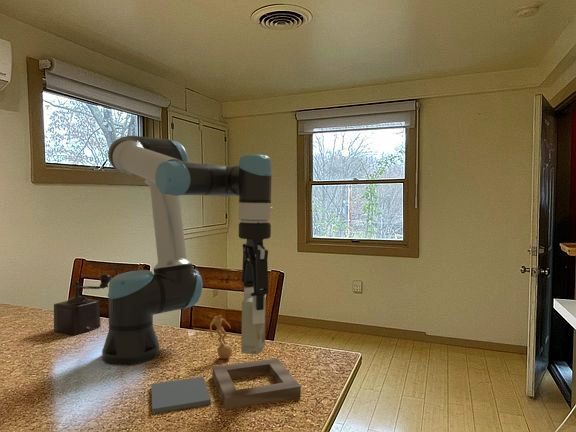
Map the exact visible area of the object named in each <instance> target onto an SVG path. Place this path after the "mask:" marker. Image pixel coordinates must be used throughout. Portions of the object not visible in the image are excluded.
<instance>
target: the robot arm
mask: <svg viewBox="0 0 576 432" xmlns="http://www.w3.org/2000/svg"><path fill="white" fill-rule="evenodd" d="M107 158H108V162H109V163H110V165H111V166H112V167H113V169H115V170H116V171H117V172H120V173H123V174H125V175H136V176H137V177H141V178H142V179H143V180H144V181H143V182H144V183H145V184H146V185H148V187H149V188H150V189H149V190H150V198H151V209H152V218H153V227H154V235H155V236H154V237H155V246H156V247H155V248H156V255H157V263H156V264H155V266H154V267H153V268H152V269H153V272H152V271H151V270H148V269H140V270H132V271H127V272H123V273H119V274H117V275H115V276H114V277H111V278H112V279H111V280H110V282H109V283H108V293H107V299H108V332H107V335H106V339H105V342H104V344H103V347H102V351H101V355H102V356H101V360H102V361H103V362H104V363H105V364H108V365H112V366H131V365H132V366H133V365H137V364H140V363H144V362H147V361H150V360H152V359H154V358H156V357H158V355H159V354H160V343H159V339H158V337H157V334H156V331H155V328H154V322H153V321H154V320H153V319H154V315H157V314H158V315H159V314H165V313H168V312H174V311H179V310H184V309H187V308H192V307H193V306H195V305H196V304H197V303H198V302H199V300H200V298H201V296H202V293H203V278H202V276H201V273H200V271H198V270H197V269H196V268H195V269H194V268H193V262H191V261H190V260H189V259H187V251H186V250H187V249H186V241H185V234H184V232H185V231H184V224H183V215H182V208H181V207H182V206H181V197H180V196H206V197H207V196H211V197H215V196H216V197H227V198H228V197H238V220H240V222H239V223H238V238H239V239H242V240H246V243H243V244H242V270H241V271H242V274H241V282H242V283H243V285H242V286H244V287H243V288H244V289H243V301H244V300H245V299H246V298H248V297H249V296H252V324H261V323H265V324H266V314H265V297H266V295H268V294H269V276H268V275H269V273H268V271H269V270H268V256H269V250H268V249H266V248H265V246H264V242H263V241H264V240H268V239H270V238H271V234H272V231H271V230H272V229H271V228H272V227H271V226H272V224H271V222H269V221H270V220H271V216H272V212H273V210H274V209H273V207H272V206H271V205H272V176H273V172H272V160H271V158H270V157H269V156H268V155H264V154H256V153H255V154H254V153H253V154H250V153H249V154H242V155H241V156H240V157H239V161H238V165H222V164H221V165H220V164H207V163H196V162H189V159H188V158H189V157H188V154H187V151H186V149H185V147H184V146H183V144H181V143H180V142H179V141H176V140H171V139H168V138H158V137H157V138H156V137H149V136H140V135H125V136H121V137H119V138H117V139H116V140H114V141H113V142H112V144H110V146H109V148H108V151H107Z"/></svg>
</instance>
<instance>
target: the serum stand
mask: <svg viewBox="0 0 576 432" xmlns="http://www.w3.org/2000/svg"><path fill="white" fill-rule="evenodd" d="M211 372H212V376H211V377H212V379H213V381H214V384H215V387H216V389H217V392H218V394H219V397H220V400H221V402H222V405H223V407H224V409H225V411H228V410H233V409H240V408H245V407H246V408H247V407H252V406H257V405H263V404H268V403H269V404H270V403H275V402H281V401H286V400H292V399H298V398H301V395H302V394H301V392H302V391H301V389H302V386H301V384H300V383H299V382H298V381H297V380H296V379H295V378H294V376H293V375H292V374H291V373H290V371H288V369H287V368H286V366H284V364H283V363H282V362H281V361H280V360H279V359H278V358H277V357H276V358H275V357H274V358H269V359H268V358H267V359H262V360H253V361H246V362H239V363H237V362H236V363H233V364H232V363H231V364H224V365H216V366H212V371H211ZM262 375H263V376H264V375H270V376H271V378H272V380H273V381H274V383H273V384H265V385H260V386H259V385H258V386H253V387H247V388H240V389H237V388H236V386H235V384H234V382H233V380H235V379H236V380H237V379H242V378H248V377H249V378H250V377H257V376H262Z"/></svg>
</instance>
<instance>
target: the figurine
mask: <svg viewBox="0 0 576 432" xmlns="http://www.w3.org/2000/svg"><path fill="white" fill-rule="evenodd" d="M223 322H224V323H225V324H226V325H227V326H228V327H229V329H231V325H230V324H229V322H228V321H227V320H226V319H225V318H223V317H222V315H221V314H218V315H215V316H214V317H212V321H211V322H210V324H209V331H210V337H213V336H214V333H213V329H212V328H213V327H212V326H213V325H215V327H216V329H215V332H216V333H217V335H218V336H219V337H218V342H219V344H220V345H219V346H218V349H217V355H218V357H219V358H220V359H224V360H225V359H228V358H230V357H231V355H232V353H233V349H232V346H230V345H229V344H228V343H227V342H226V341H225V338H226V337H227V334H228V333H227V332H226V331H225V329H224V327H223V326H222V323H223ZM221 340H222V341H221Z"/></svg>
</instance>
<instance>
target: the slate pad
mask: <svg viewBox="0 0 576 432" xmlns="http://www.w3.org/2000/svg"><path fill="white" fill-rule="evenodd" d="M150 386H151V391H150V392H151V412H152V415H154V414H160V413H165V412H172V411H177V410H182V409H189V408H195V407H202V406H206V405H212V400H211V395H210V392H209V390H208V387H207V384H206V382H205V378H204V376H198V377H191V378H185V379H175V380H169V381H163V382H155V383H151V384H150Z"/></svg>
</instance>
